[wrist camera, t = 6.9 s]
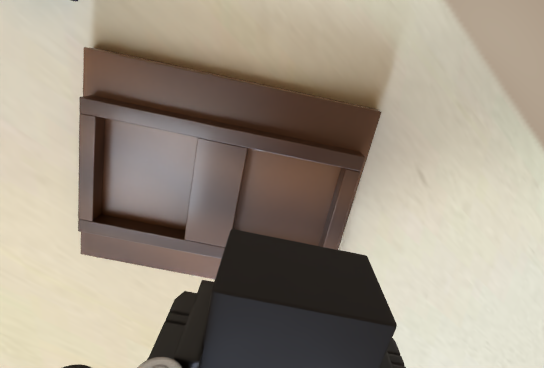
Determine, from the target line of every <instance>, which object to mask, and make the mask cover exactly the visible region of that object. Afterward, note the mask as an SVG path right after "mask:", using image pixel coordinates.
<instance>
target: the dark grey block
mask: <svg viewBox="0 0 544 368" xmlns="http://www.w3.org/2000/svg"><path fill="white" fill-rule="evenodd" d="M395 329H396V322H395V320H394V317H393V315H392V313H391V310H390V308H389V306H388V304H387V301H386V299H385V297H384V294H383V292H382V290H381V287H380V285H379V283H378V281H377V278H376V276H375V274H374V271H373V269H372V267H371V264H370V262H369V260H368V257H367V256H365V255H361V254H356V253H351V252H346V251H341V250H336V249H331V248H326V247H321V246H315V245H310V244H305V243H300V242H295V241H290V240H285V239H280V238H275V237H270V236H265V235H260V234H255V233H250V232H245V231H240V230H235V229H231V230H230V233H229V236H228V239H227V243H226V246H225V249H224V252H223V256H222V259H221V262H220V265H219V268H218V272H217V275H216V278H215V281H214V285H213V288H212V291H211V297H210V303H209V308H208V314H207V320H206V325H205V331H204V337H203V342H202V344H203V346H204V348H203V354H202V359H201V365H200V368H379V367H380V365H381V363H382V360H383V358H384V355H385V353H386V351H387V348H388V346H389V343H390V341H391V339H392V336H393V334H394V332H395Z"/></svg>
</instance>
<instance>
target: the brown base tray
mask: <svg viewBox="0 0 544 368" xmlns="http://www.w3.org/2000/svg"><path fill="white" fill-rule="evenodd" d="M380 114H381V112H380V111H378V110H376V109H372V108H368V107H363V106H359V105H354V104H349V103H345V102H340V101H336V100H331V99H326V98H322V97H317V96H313V95H308V94H303V93H299V92H294V91H290V90H285V89H280V88H276V87H271V86H267V85H262V84H257V83H253V82H248V81H244V80H239V79H234V78H230V77H225V76H221V75H216V74H211V73H207V72H202V71H198V70H193V69H188V68H184V67H179V66H175V65H170V64H165V63H161V62H156V61H152V60H147V59H142V58H138V57H133V56H129V55H124V54H119V53H115V52H110V51H106V50H101V49H96V48H87V47H84V73H83V97H80V125H79V211H78V218H79V221H78V231H80V232H81V254H84V255H89V256H95V257H100V258H105V259H110V260H116V261H121V262H126V263H131V264H137V265H142V266H147V267H152V268H158V269H163V270H168V271H173V272H179V273H184V274H189V275H194V276H200V277H205V278H210V279H215V278H216V275H217V272H218V268H219V265H220V262H221V259H222V256H223V252H224V249H225V246H226V243H227V239H228V236H229V233H230V230H231V229H235V230H240V231H245V232H250V233H255V234H260V235H265V236H270V237H275V238H280V239H285V240H290V241H295V242H300V243H305V244H310V245H315V246H321V247H326V248H331V249H336V250H338V248H339V245H340V241H341V238H342V235H343V232H344V229H345V225H346V222H347V219H348V216H349V213H350V210H351V206H352V203H353V200H354V197H355V194H356V191H357V187H358V184H359V181H360V178H361V175H362V172H363V168H364V165H365V162H366V159H367V156H368V152H369V149H370V146H371V143H372V140H373V137H374V133H375V130H376V127H377V124H378V121H379V118H380Z"/></svg>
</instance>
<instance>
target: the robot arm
mask: <svg viewBox="0 0 544 368" xmlns="http://www.w3.org/2000/svg"><path fill="white" fill-rule="evenodd" d="M213 285H214V282H211V281H205V280H202V282H201V284H200V287H199V290H198V292H197V293H192V292H186V291H184V292H183V293H182V294H181V295H180V296H178V297H177V298H176V299H175V300H174V303H173V305H172V307H171V309H170V312H169V314H168V316H167V318H166V321H165V323H164V325H163V327H162V329H161V331H160V334H159V336H158V338H157V340H156V343H155V345H154V347H153V349H152V351H151V354H150V356H149V358H148V359H147V361H145V362H143V363H142V364H141V365H140V366H139V367H138V368H200V365H201V359H202V354H203V348H204V346H203V344H202V342H203V337H204V331H205V325H206V320H207V314H208V308H209V303H210V297H211V291H212V288H213ZM63 368H91V367H89V366H86V365H70V366H66V367H63ZM379 368H406V367H404V362H403V360H402V357H401V356H400V352H399V350H398V347H397V345H396V342H395V341H394V339H393V338H392V339H391V341H390V343H389V346H388V348H387V351H386V353H385V355H384V358H383V360H382V363H381V365H380V367H379Z"/></svg>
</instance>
